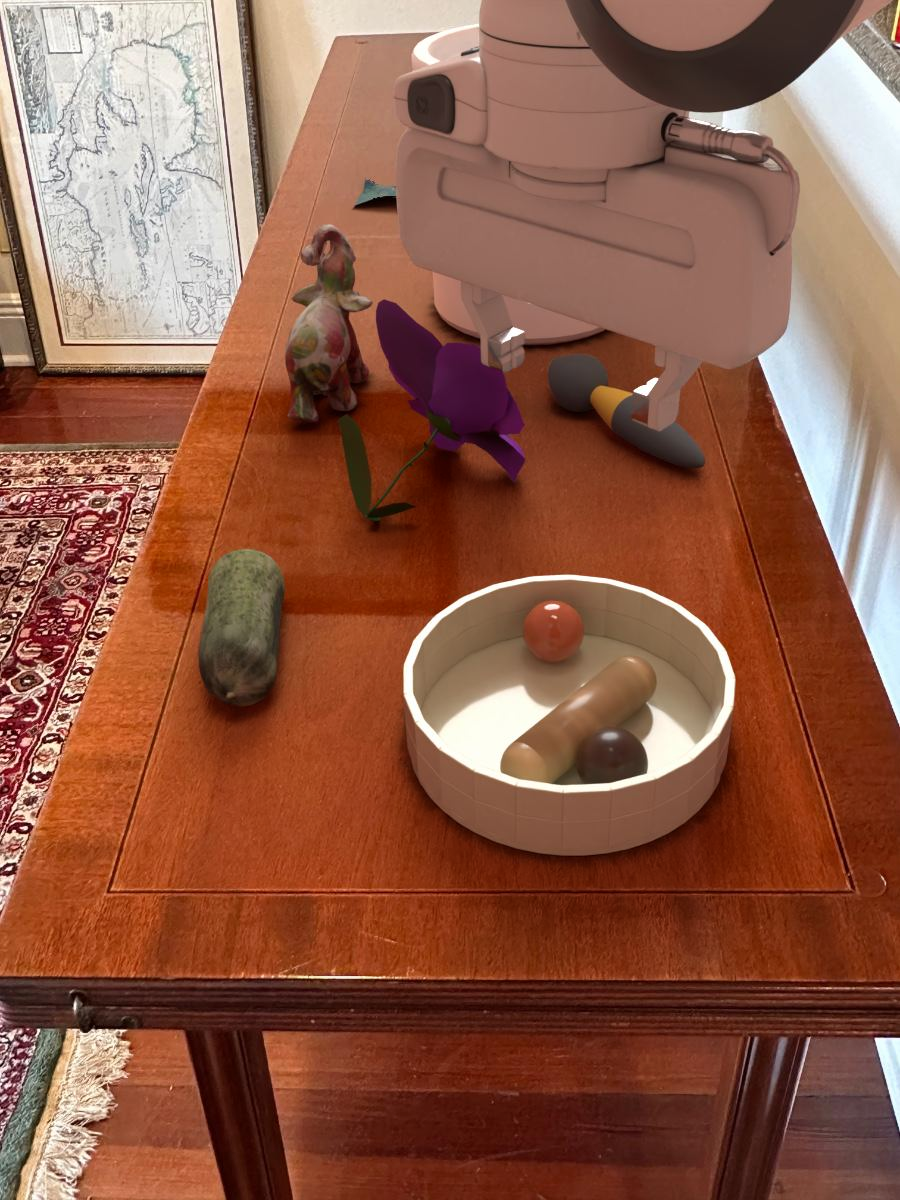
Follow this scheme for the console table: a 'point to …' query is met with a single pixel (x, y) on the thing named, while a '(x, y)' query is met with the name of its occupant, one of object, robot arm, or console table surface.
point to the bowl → (535, 687)
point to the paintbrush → (617, 409)
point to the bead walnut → (611, 756)
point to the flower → (437, 403)
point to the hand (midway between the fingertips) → (575, 392)
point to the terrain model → (375, 191)
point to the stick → (580, 720)
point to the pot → (447, 290)
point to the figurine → (326, 330)
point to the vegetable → (241, 627)
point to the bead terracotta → (553, 631)
